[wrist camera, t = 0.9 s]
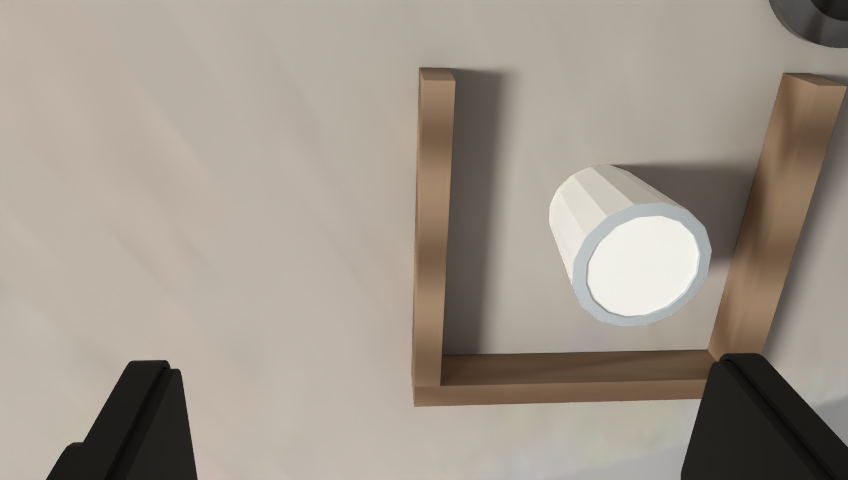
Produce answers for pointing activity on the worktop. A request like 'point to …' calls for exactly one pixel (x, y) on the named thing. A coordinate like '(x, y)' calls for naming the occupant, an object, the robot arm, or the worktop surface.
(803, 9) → the dark grey round dish
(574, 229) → the white cup
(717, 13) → the worktop surface
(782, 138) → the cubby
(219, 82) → the worktop surface
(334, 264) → the worktop surface
